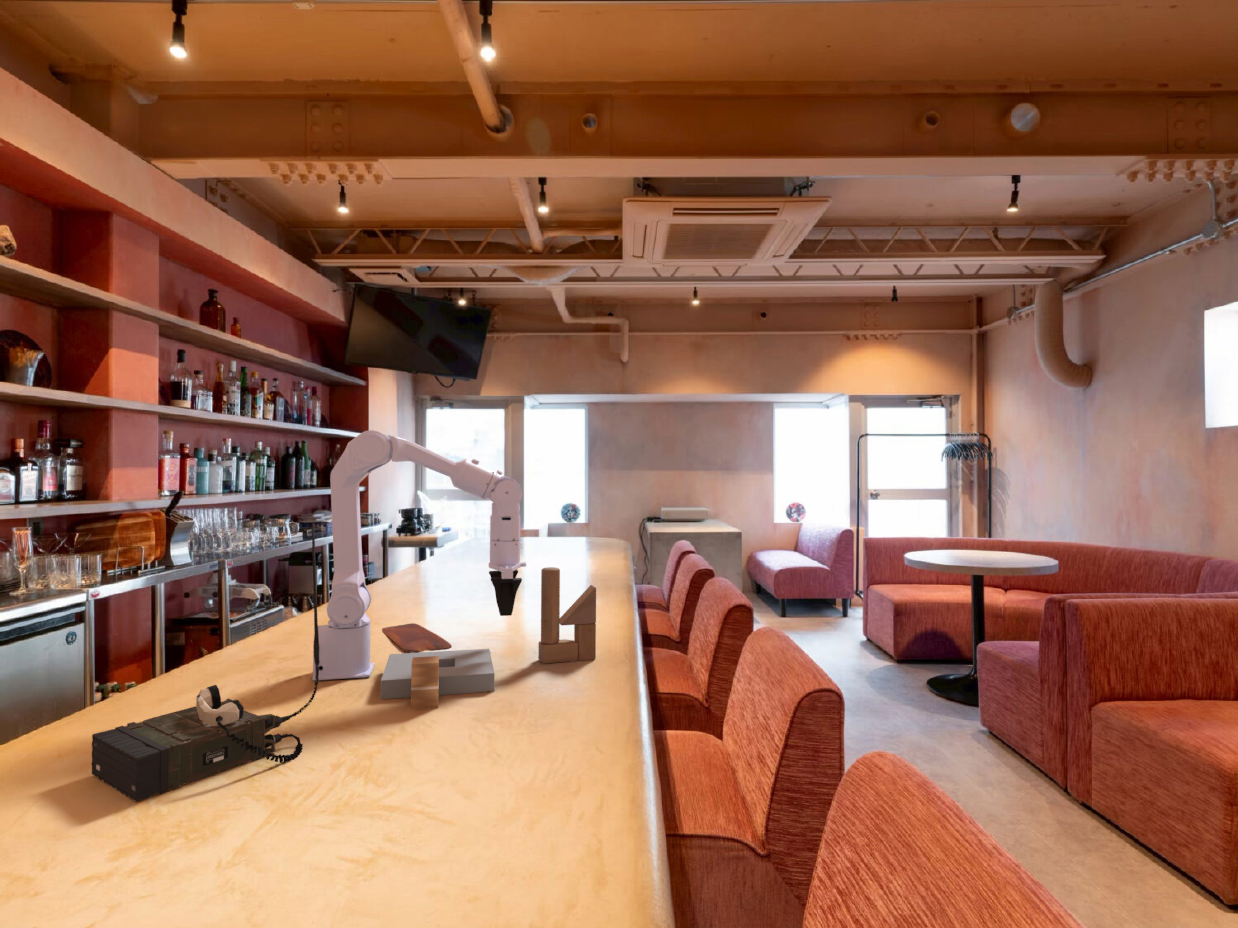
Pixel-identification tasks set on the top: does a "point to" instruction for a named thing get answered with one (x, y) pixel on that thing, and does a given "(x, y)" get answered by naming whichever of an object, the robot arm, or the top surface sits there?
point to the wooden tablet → (415, 638)
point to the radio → (191, 740)
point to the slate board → (441, 673)
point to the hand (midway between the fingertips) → (504, 611)
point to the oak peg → (424, 682)
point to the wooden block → (566, 622)
